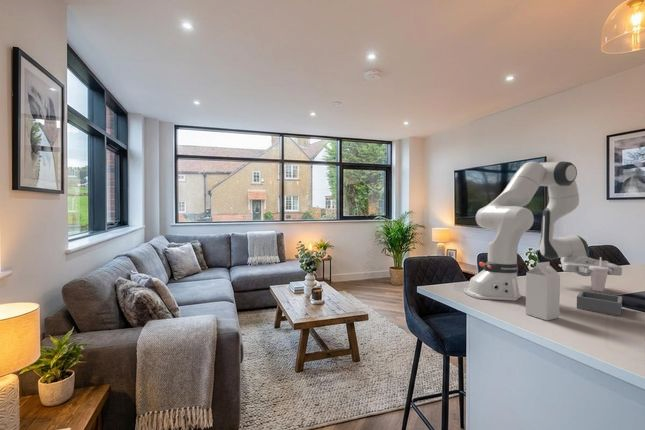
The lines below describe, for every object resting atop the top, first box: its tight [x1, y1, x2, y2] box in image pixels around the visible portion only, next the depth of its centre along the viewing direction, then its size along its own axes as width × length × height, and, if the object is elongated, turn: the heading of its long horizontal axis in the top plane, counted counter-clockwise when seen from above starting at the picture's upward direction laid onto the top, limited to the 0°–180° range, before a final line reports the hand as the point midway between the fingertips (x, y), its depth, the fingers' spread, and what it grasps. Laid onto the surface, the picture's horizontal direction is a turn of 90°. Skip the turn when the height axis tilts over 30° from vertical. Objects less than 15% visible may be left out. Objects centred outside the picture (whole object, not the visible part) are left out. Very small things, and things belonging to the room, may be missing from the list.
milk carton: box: [525, 261, 561, 321], centre depth 107 cm, size 7×7×19 cm
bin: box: [576, 290, 623, 317], centre depth 116 cm, size 12×12×4 cm
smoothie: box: [589, 256, 609, 292], centre depth 129 cm, size 6×6×14 cm
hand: (599, 271), depth 128 cm, fingers closed on smoothie, 6 cm apart
